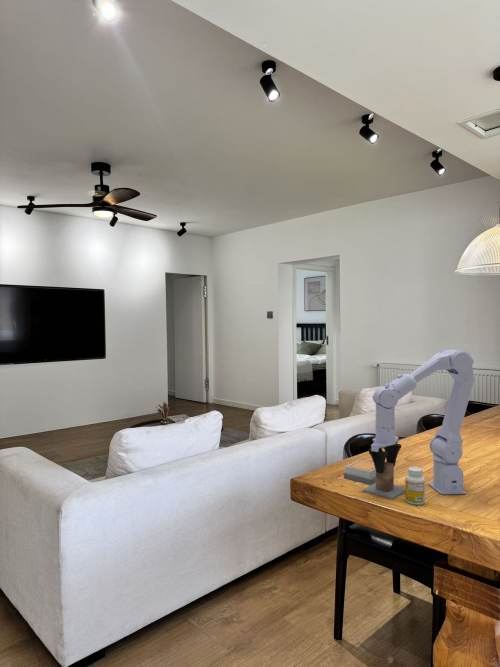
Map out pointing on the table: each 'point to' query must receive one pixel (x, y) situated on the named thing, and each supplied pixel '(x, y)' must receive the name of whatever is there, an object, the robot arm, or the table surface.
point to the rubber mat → (390, 494)
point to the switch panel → (360, 474)
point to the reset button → (363, 466)
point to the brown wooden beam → (385, 478)
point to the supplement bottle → (415, 486)
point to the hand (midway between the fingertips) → (385, 469)
